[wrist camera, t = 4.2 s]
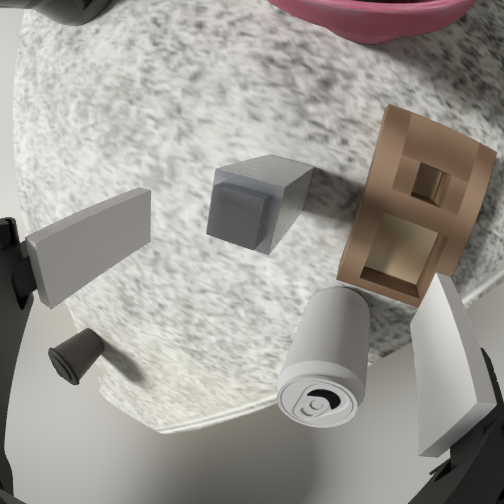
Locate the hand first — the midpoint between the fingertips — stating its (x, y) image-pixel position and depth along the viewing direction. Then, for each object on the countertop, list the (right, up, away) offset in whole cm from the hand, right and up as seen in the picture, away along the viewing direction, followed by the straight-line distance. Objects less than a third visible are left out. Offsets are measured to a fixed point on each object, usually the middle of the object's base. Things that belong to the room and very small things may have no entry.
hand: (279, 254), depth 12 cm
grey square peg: (+2, +6, +13) cm, 14 cm away
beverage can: (+7, -6, +16) cm, 18 cm away
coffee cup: (-31, -16, +36) cm, 50 cm away
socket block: (+12, +4, +9) cm, 16 cm away
